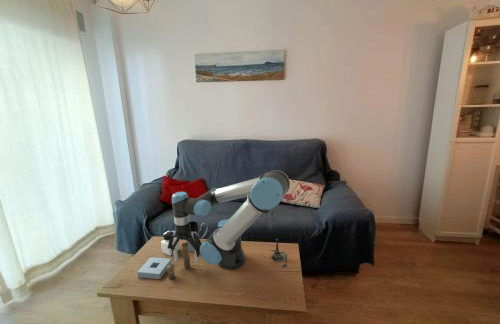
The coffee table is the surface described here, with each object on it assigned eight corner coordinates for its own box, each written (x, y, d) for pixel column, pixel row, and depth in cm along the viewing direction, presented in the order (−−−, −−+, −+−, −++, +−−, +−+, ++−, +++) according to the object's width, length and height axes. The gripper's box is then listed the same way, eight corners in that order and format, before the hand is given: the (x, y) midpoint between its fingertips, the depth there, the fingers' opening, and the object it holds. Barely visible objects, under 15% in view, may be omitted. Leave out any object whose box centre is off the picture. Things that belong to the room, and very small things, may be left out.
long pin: (191, 265, 127) (188, 242, 123) (189, 269, 124) (186, 245, 120) (185, 265, 127) (183, 241, 124) (183, 269, 124) (180, 245, 121)
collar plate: (171, 263, 129) (170, 258, 128) (160, 279, 117) (159, 273, 117) (151, 262, 131) (150, 257, 130) (138, 277, 119) (137, 272, 119)
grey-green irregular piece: (287, 269, 122) (287, 246, 119) (267, 267, 124) (266, 244, 121) (287, 252, 136) (287, 230, 133) (270, 250, 138) (269, 229, 135)
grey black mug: (184, 245, 145) (181, 223, 142) (206, 238, 152) (204, 217, 148) (187, 252, 138) (185, 229, 134) (211, 245, 144) (209, 223, 141)
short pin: (175, 275, 120) (174, 264, 118) (172, 279, 117) (171, 268, 115) (170, 274, 120) (168, 264, 119) (167, 279, 117) (165, 268, 116)
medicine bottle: (179, 249, 141) (177, 231, 139) (170, 256, 136) (167, 237, 133) (171, 246, 145) (169, 228, 142) (162, 252, 139) (159, 233, 137)
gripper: (207, 219, 121) (210, 257, 126) (164, 218, 125) (169, 254, 130) (202, 227, 114) (205, 266, 119) (157, 224, 118) (162, 263, 123)
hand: (186, 260), depth 124 cm, fingers open, 11 cm apart
